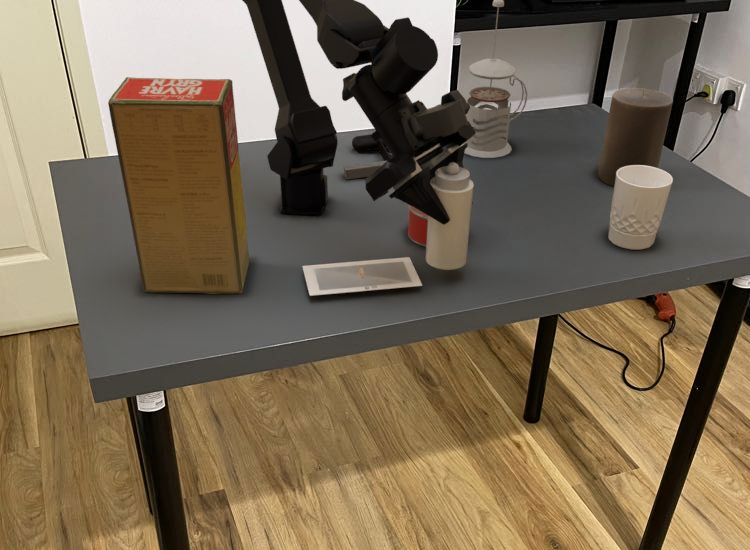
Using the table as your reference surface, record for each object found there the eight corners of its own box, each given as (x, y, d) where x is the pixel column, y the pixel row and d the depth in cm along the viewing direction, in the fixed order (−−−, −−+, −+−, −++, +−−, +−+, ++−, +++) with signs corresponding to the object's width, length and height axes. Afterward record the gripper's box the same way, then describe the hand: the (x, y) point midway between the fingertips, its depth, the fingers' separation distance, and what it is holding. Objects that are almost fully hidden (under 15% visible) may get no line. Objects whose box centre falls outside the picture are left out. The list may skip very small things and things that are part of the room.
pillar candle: (630, 194, 136) (650, 102, 127) (585, 174, 142) (601, 85, 133) (667, 180, 141) (688, 90, 132) (621, 161, 147) (639, 74, 138)
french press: (451, 139, 154) (461, -9, 138) (510, 135, 156) (526, -11, 140) (467, 159, 146) (479, 6, 130) (529, 155, 148) (548, 4, 133)
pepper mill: (424, 268, 111) (430, 170, 102) (426, 248, 115) (431, 153, 106) (466, 271, 110) (476, 173, 102) (466, 250, 115) (475, 155, 106)
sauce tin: (406, 247, 120) (407, 217, 117) (409, 220, 127) (410, 192, 124) (465, 249, 120) (467, 220, 117) (464, 223, 127) (467, 195, 124)
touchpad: (302, 273, 114) (301, 259, 112) (409, 264, 116) (409, 250, 115) (310, 302, 108) (309, 288, 106) (422, 292, 110) (422, 278, 109)
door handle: (352, 180, 132) (449, 166, 135) (329, 134, 147) (417, 123, 150) (353, 199, 134) (449, 185, 137) (331, 152, 149) (417, 141, 152)
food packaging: (251, 259, 116) (234, 76, 101) (243, 294, 109) (223, 103, 93) (155, 258, 116) (123, 74, 100) (141, 293, 108) (103, 101, 93)
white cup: (627, 256, 120) (641, 191, 113) (592, 233, 125) (604, 170, 119) (668, 245, 123) (685, 181, 116) (633, 223, 128) (647, 161, 122)
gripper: (387, 94, 93) (464, 211, 96) (469, 55, 106) (535, 160, 108) (332, 146, 101) (405, 252, 104) (414, 104, 114) (477, 200, 116)
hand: (458, 214), depth 108 cm, fingers closed on pepper mill, 5 cm apart
